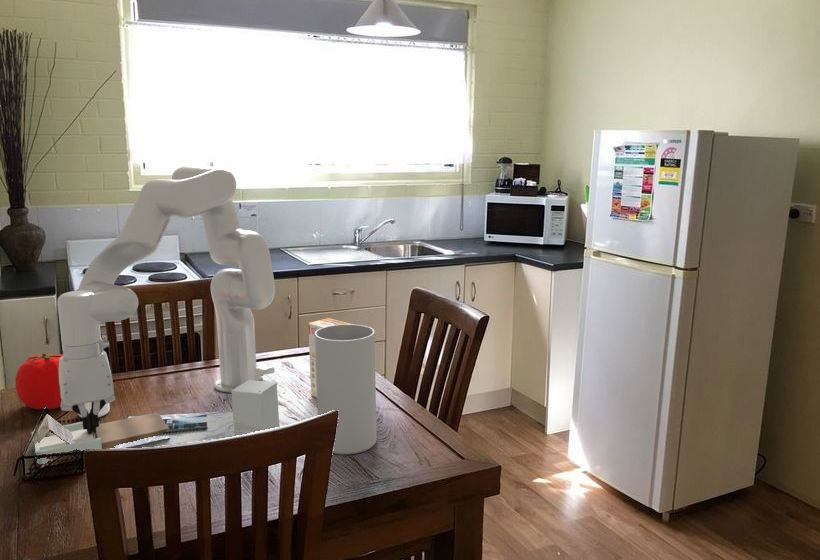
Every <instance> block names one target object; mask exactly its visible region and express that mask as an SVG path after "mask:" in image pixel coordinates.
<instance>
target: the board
mask: <svg viewBox="0 0 820 560" xmlns="http://www.w3.org/2000/svg"><path fill="white" fill-rule="evenodd" d="M165 423H166V421H165V420H164V419H163V417H162V416H161V415H160V413H159V412H153V413H146V414H141V415H138V416H133V417H132V416H131V417H128V418H123V419H117V420H113V421H107V422H103V423H99V427H96V433H94V435H95V437H96V438H101V445H102V449H106V448H115V447H114V446H116V445H119V444H123V443H128V442H133V441H137V440H140V439H144V438H148V437H153V436H158V435H161V434H163V433H164V432H165V431H167V430H169V431H170V427H169V426H168V425H166V424H167V423H166V424H165Z"/></svg>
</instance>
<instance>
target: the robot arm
mask: <svg viewBox="0 0 820 560" xmlns="http://www.w3.org/2000/svg"><path fill="white" fill-rule="evenodd" d="M236 190H237V181H236V177H235V176H234V174H233V172H231V171H230V170H229V169H227V168H225V167H221V166H202V165H186V166H181V167H179V168H177V169H175V170H174V171H173V173H172V175H171V179H170V178H169V179H165V178H162V179H161V178H160V179H159V178H158V179H157V178H156V179H152V180H149V181H147V182H146V183H144V185H143V186H142V188H141V189H140V190H139V193H138V194H137V197H136V200H135V201H134V204H133V205H132V206H131V207H132V208H131V210H130V211H129V214H128V216H127V218H126V220H125V222H124V225H123V227H122V229H121V230H120V232H119V234H118V236H117V237H116V238H115V239H113V240H112V241H111V242H109V244H108V245H106V247H104V248H103V249H102V250H101V251H100V252H99V253H98V254H97V255H96V256H95V257H94V259H93V260H91V262H90V264H89V265H88V267H87V269H86V271H85V273H84V274H83V277H82V279H81V281H80V283H79V286H78V289H77V290H72V291H68V292H64V293H62V294H60V295H59V296H58V298H57V313H58V320H59V329H60V337H61V338H60V339H61V347H62V354H63V356H62V357H60V359H59V389H60V397H61V399H62V400H61V406H60V407H59V408H60V409H61V411H64V412H72V411H73V412H75V413H76V414H77V415H78V414H79V415H81V416H82V417H81V420H82V421H81V422H82V423H83V429H84V430H86V429H87V432H88V434H91V433H92V432H93V433H96V427H99V424H100V423H99V417H98V414H99V411H100V410H101V409H102V408H103V407H104V405H105V404H108V403H109V404H111V403H113V402H115V401H116V396H115V394H114V393H115V391H114V389H115V388H114V382H113V376H112V371H111V367H110V362H109V359H108V354H107V352H106V351H105V350H104V349H106V348H109V347H110V342H109V340H103V339H102V340H101V338H102V335H101V334H102V333H101V325H100V324H101V323H108V322H109V323H110V322H121V321H123V320H127V319H129V318H130V317H132V316H133V315H134V314H135V313H136V311H137V310H138V307H139V298H138V295H137V294H136V292H134V290H132V289H131V288H129V287H127V286H122V285H117V284H115V282H116V281H117V279H118V277H119V276H120V275H121V273H122V272H124V270H126V269H127V268H128V267H129V266H131V265H132V264H134V263H137V262H138V261H141V260H144V259H145V258H148V257H149V256H152V255H153V254H155V253H156V252H157V250H158V249H159V247H160V244H161V242H162V240H163V238H164V235H165V233H166V231H167V229H168V227H169V225H170V222H171V220H172V218H177V219H187V218H192V217H196V216H198V215H200V216H201V218H202V219H201V220H202V222H203V228H204V231H205V237H206V241H207V242H206V243H207V246H208V252H209V256H210V258H211V259H212V261H213V262H214V263H215V264H217V265H220V266H224V267H228V268H224V269H223V268H222V269H221V270H218V271H217V272H216V273H215V274H214V275H213V277H211V282H210V286H209V287H210V293H211V299H212V303H213V306H214V310H215V315H216V316H215V317H216V328H217V330H216V331H217V346H218V347H217V348H218V359H219V360H218V361H219V362H218V363H219V374H220V375H219V376H220V377H219V378H217V379H216V380H215V381H214V388H215V389H216V390H217V391H220V392H224V393H231V391H232V390H233V389H235V388H236V387H238V386H240V385H241V384H243V383H244V382H246V381H248V380H256V381H264V378H263V377H264V376H265V375H272V374H274V373H275V367H274V366H268V367H267V365H261V366H259V365H257V355H256V354H257V352H256V337H255V336H256V331H255V319H254V314H253V312H252V310H263V309H265V308H267V307H269V306H270V305H271V304H272V302H273V300H274V297H275V292H276V284H275V278H274V273H273V265H272V259H271V258H272V257H271V254H270V253H271V252H270V248H269V246H268V242H267V241H266V239H265V238H264V236H263V235H262V234H260V233H259V232H256V231H253V230H248V229H247V230H246V229H242V228H241V225H240V223H239V222H240V221H239V217H238V213H237V209H236V205H235V204H234V202H233V199H232V198H233V196H234V195H235V193H236ZM229 267H232V268H229ZM238 268H239V269H238ZM89 402H92V405H91V410H90V412H89V413H88V411H87V410H86V408H85V404H84V403H89ZM79 415H78V416H79Z"/></svg>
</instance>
